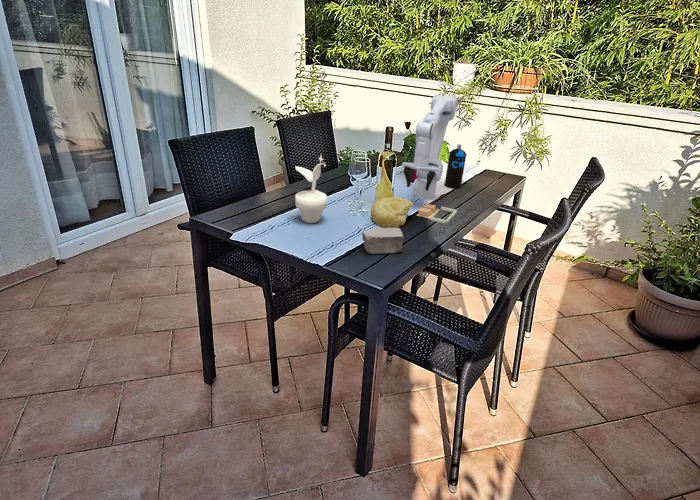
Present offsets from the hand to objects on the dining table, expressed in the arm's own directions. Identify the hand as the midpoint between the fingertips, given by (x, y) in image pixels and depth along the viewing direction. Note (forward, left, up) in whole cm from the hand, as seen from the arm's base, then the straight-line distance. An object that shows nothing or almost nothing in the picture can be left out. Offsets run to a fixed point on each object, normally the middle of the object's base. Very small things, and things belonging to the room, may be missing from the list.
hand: (417, 188), depth 180 cm
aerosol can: (+3, +44, -10) cm, 45 cm away
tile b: (+6, -5, -8) cm, 11 cm away
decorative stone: (+4, -40, -10) cm, 42 cm away
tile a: (+6, +1, -8) cm, 10 cm away
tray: (+12, -1, -10) cm, 16 cm away
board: (+6, -1, -10) cm, 12 cm away
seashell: (-3, -17, -10) cm, 20 cm away
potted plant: (-30, -32, -10) cm, 45 cm away
